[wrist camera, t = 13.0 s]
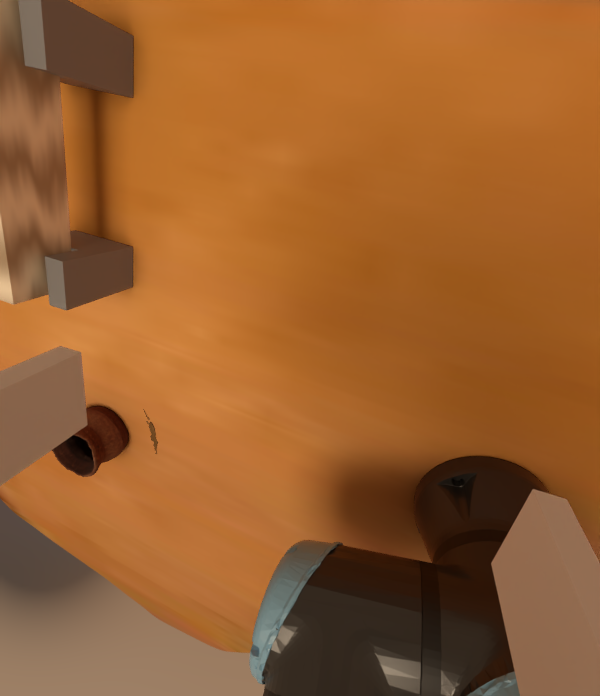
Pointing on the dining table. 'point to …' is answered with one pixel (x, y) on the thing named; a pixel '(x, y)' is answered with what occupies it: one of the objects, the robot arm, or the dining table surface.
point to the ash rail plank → (29, 168)
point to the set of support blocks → (93, 73)
